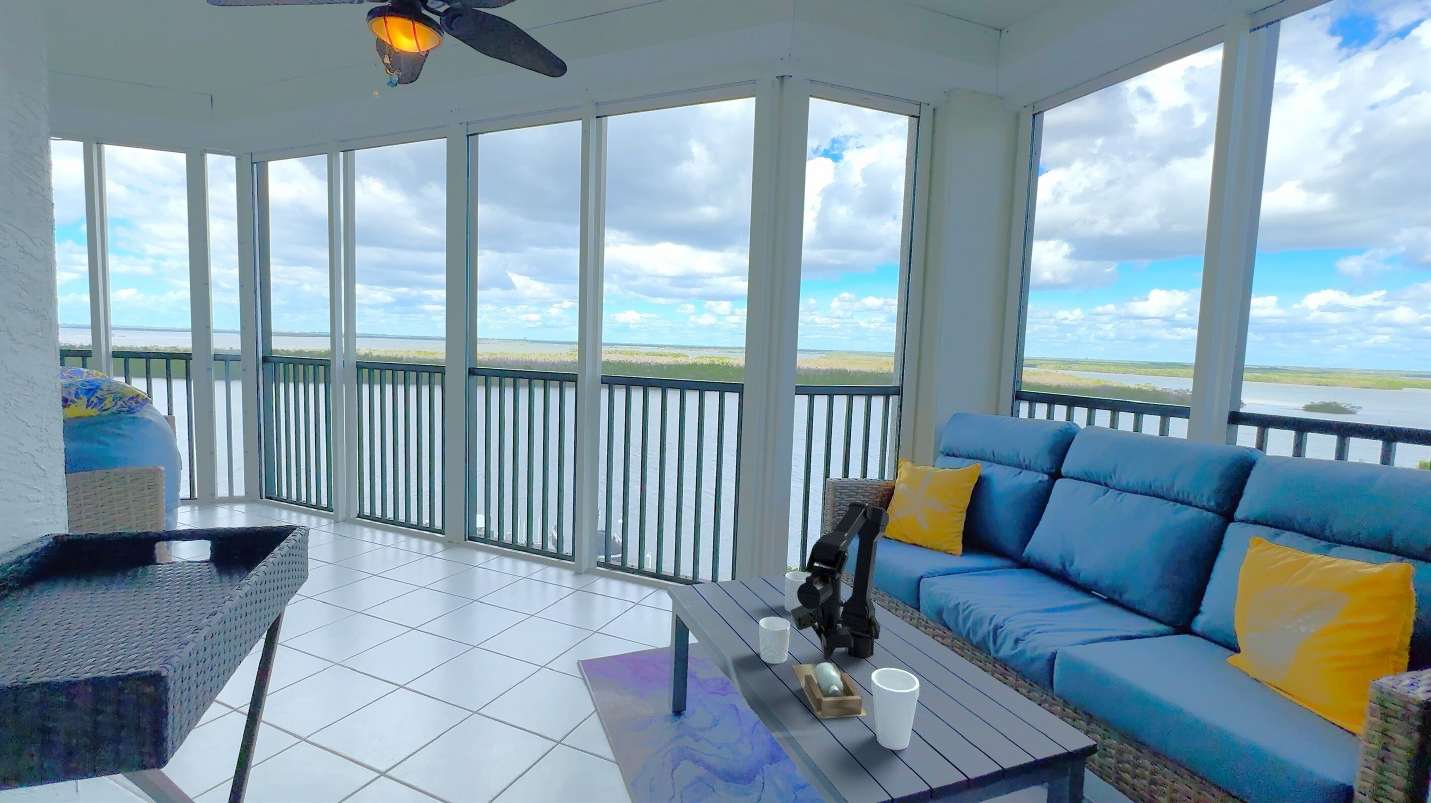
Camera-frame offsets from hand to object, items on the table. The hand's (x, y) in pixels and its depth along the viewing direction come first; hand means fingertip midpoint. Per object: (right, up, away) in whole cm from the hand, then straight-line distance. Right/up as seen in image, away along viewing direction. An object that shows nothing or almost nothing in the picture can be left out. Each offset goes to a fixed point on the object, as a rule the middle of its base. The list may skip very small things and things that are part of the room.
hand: (826, 659), depth 148 cm
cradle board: (0, -8, 0) cm, 8 cm away
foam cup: (+10, -9, -18) cm, 23 cm away
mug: (0, -4, +45) cm, 45 cm away
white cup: (-11, -6, +14) cm, 19 cm away
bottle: (0, -4, +2) cm, 4 cm away
